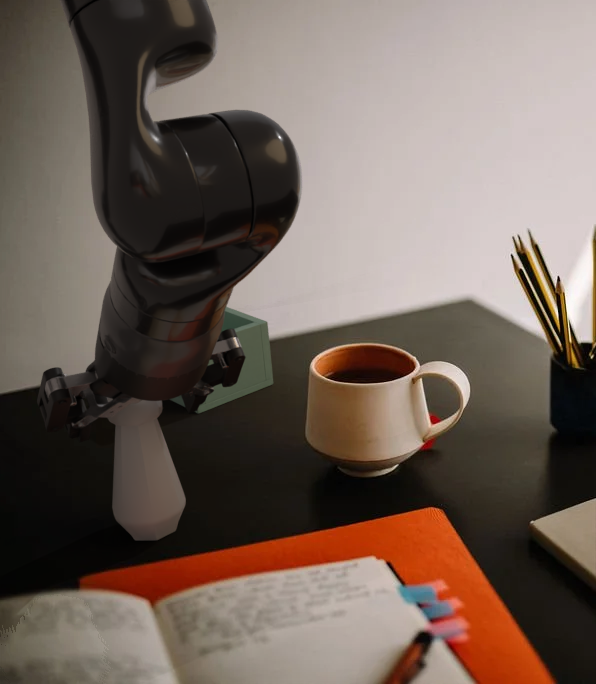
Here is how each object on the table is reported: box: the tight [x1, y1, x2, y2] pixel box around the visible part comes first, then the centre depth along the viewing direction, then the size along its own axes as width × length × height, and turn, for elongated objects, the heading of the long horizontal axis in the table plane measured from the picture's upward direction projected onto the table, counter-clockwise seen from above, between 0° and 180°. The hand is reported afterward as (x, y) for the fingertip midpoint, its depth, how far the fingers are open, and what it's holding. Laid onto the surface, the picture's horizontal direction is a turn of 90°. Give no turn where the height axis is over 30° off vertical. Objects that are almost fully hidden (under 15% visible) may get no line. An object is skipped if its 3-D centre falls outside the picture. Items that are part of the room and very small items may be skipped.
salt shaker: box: [107, 397, 187, 541], centre depth 75 cm, size 6×6×13 cm
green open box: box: [168, 306, 274, 415], centre depth 103 cm, size 10×10×8 cm
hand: (135, 415), depth 74 cm, fingers open, 8 cm apart
